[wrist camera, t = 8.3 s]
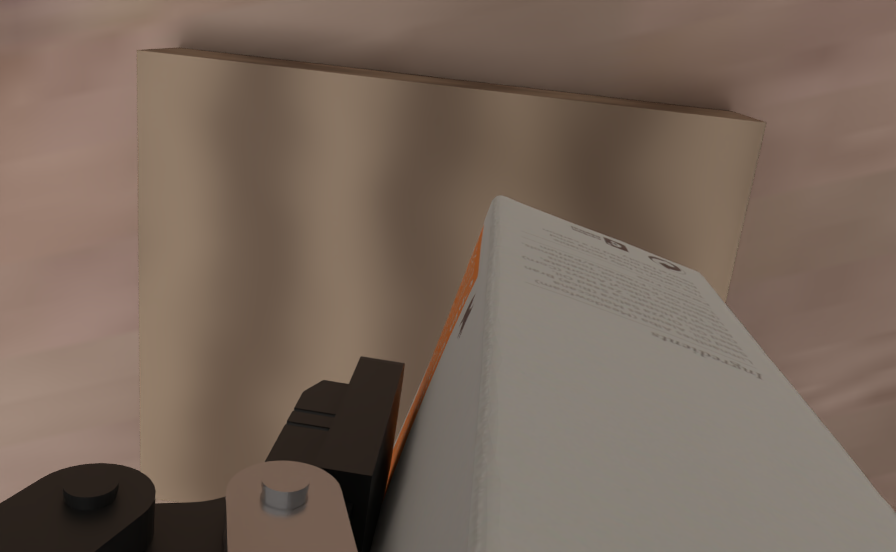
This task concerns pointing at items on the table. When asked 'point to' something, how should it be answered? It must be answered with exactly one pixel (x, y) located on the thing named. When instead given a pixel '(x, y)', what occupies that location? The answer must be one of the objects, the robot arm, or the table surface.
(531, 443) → the skincare box
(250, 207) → the walnut stand
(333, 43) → the table surface
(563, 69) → the table surface
